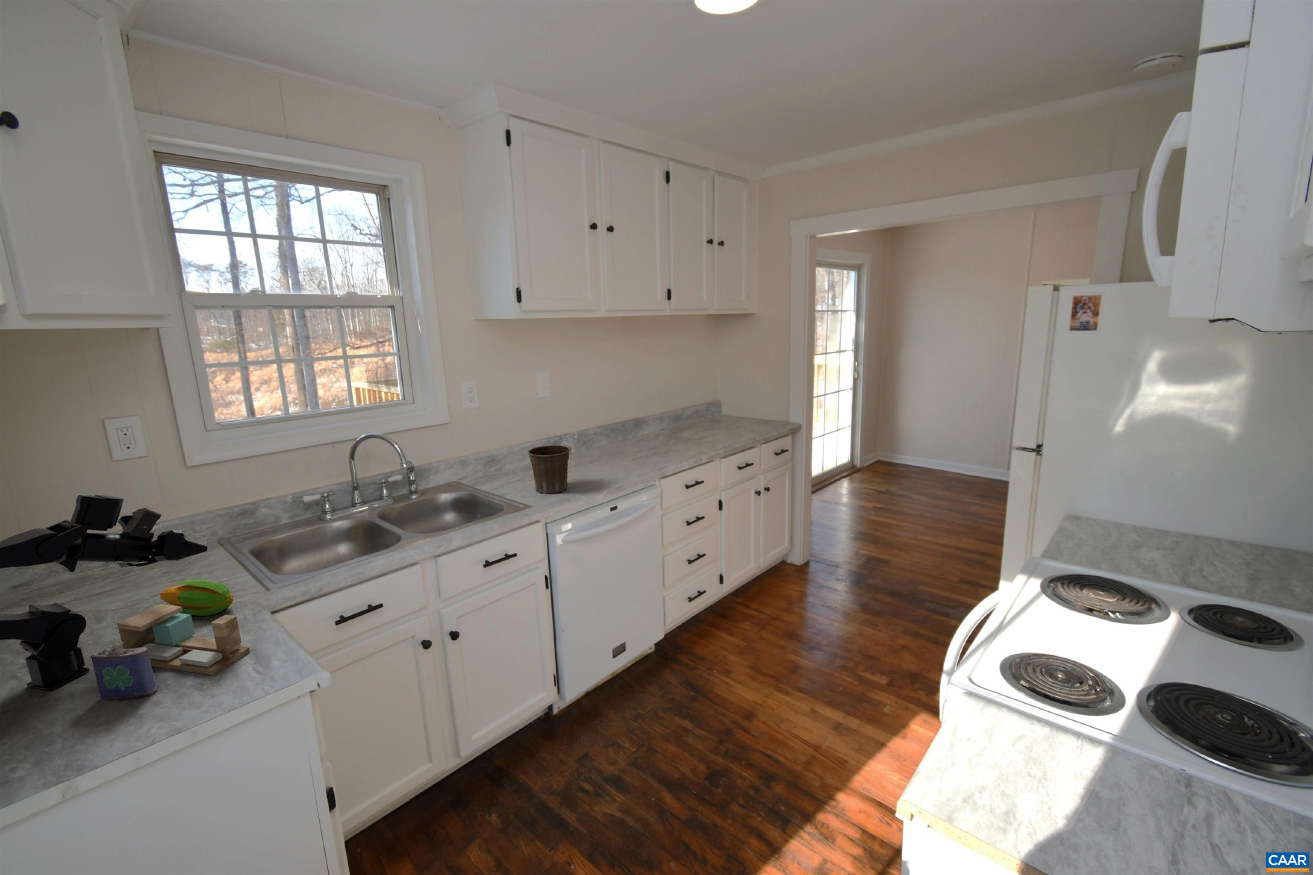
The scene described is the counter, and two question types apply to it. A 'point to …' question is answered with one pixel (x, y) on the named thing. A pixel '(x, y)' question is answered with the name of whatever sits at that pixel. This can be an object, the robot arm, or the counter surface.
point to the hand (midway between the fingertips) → (194, 550)
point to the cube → (174, 629)
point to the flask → (123, 673)
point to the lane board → (141, 633)
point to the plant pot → (550, 468)
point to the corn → (199, 597)
